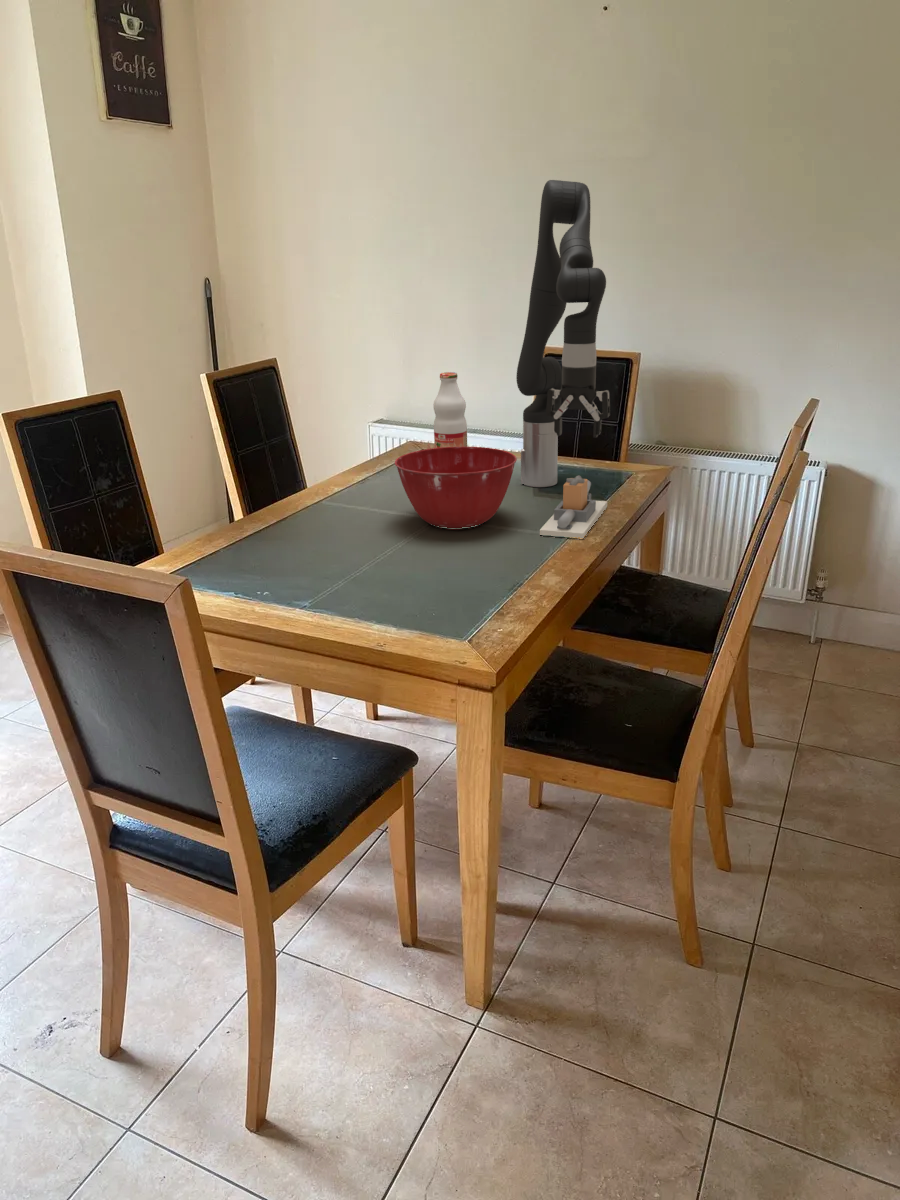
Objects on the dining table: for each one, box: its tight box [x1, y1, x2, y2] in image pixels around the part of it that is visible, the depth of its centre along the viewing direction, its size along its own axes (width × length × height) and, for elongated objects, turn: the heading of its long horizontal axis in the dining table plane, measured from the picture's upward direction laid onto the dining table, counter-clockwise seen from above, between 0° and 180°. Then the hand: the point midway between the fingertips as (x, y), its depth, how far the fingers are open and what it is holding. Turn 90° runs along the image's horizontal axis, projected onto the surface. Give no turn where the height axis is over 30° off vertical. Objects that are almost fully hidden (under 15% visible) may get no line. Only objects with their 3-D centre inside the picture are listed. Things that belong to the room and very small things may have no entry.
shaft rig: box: [539, 480, 608, 539], centre depth 212 cm, size 10×26×7 cm, turn 159°
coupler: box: [562, 475, 588, 510], centre depth 211 cm, size 6×4×9 cm, turn 159°
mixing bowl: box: [394, 446, 518, 528], centre depth 214 cm, size 28×28×15 cm
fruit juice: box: [433, 371, 468, 448], centre depth 255 cm, size 9×9×28 cm
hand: (577, 435), depth 207 cm, fingers open, 8 cm apart
